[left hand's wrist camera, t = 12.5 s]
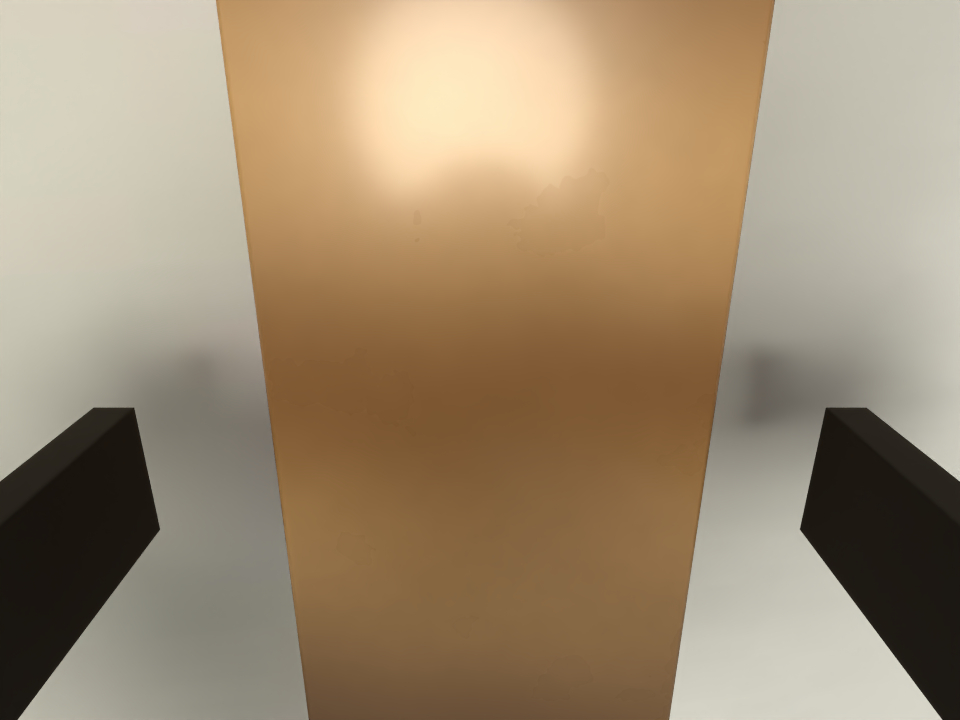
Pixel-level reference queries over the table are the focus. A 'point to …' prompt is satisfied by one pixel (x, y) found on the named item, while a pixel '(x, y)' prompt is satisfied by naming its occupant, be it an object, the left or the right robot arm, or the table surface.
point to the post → (492, 334)
